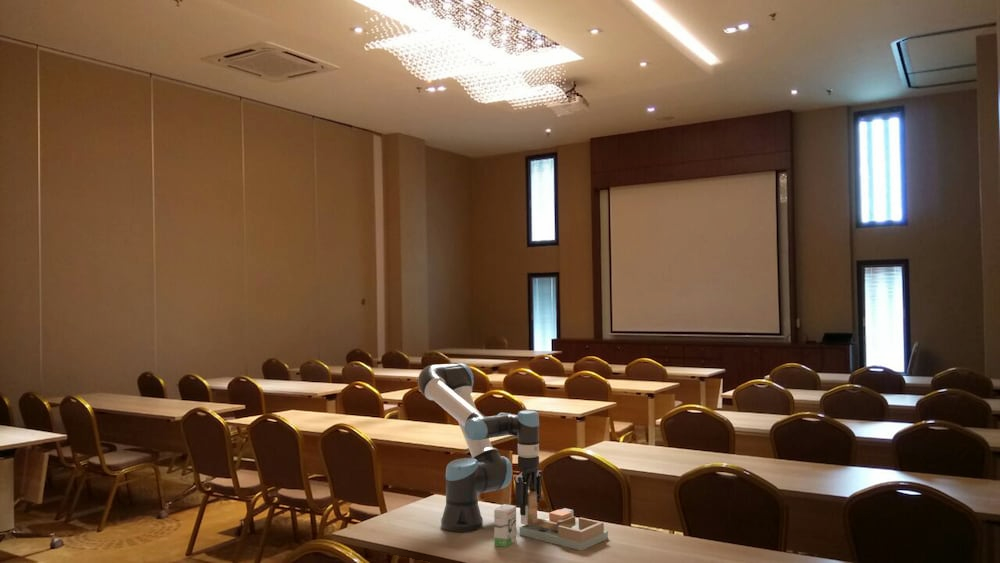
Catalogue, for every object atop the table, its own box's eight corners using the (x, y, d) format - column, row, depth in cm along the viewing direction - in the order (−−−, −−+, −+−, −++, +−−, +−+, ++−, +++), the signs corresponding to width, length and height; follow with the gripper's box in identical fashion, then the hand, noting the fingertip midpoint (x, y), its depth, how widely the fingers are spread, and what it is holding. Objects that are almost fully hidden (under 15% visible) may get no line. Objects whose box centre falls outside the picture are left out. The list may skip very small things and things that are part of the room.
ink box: (507, 547, 239) (507, 511, 239) (493, 545, 241) (493, 510, 241) (516, 540, 247) (516, 505, 247) (503, 538, 249) (503, 503, 249)
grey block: (558, 521, 268) (558, 510, 268) (564, 518, 271) (564, 508, 271) (567, 523, 266) (567, 512, 266) (573, 520, 269) (573, 510, 269)
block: (549, 528, 251) (549, 512, 251) (558, 525, 255) (558, 509, 255) (562, 532, 247) (561, 515, 247) (571, 528, 251) (571, 512, 251)
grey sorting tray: (519, 534, 253) (519, 517, 253) (547, 523, 265) (547, 507, 265) (581, 550, 236) (581, 532, 236) (608, 538, 248) (607, 520, 248)
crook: (519, 523, 255) (518, 491, 255) (535, 517, 262) (534, 486, 262) (559, 531, 243) (558, 498, 244) (575, 525, 250) (574, 493, 251)
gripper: (521, 460, 246) (521, 530, 246) (551, 453, 259) (551, 519, 259) (504, 457, 251) (504, 526, 251) (535, 450, 264) (535, 515, 263)
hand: (528, 522), depth 255 cm, fingers closed on crook, 4 cm apart
